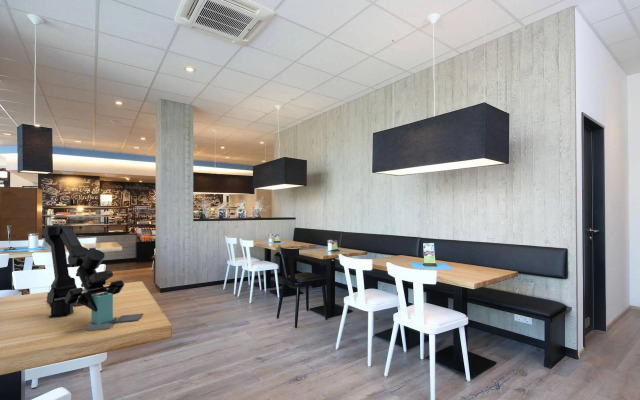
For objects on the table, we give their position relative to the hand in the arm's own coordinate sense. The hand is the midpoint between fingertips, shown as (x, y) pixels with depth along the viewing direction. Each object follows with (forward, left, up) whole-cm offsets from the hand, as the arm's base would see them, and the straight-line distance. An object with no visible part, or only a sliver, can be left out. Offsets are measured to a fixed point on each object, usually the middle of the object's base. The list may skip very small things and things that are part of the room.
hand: (104, 308), depth 121 cm
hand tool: (-39, +48, -7) cm, 63 cm away
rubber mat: (+7, +7, -7) cm, 12 cm away
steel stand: (-1, +1, -7) cm, 7 cm away
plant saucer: (-24, +44, -7) cm, 51 cm away
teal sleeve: (-1, +1, -5) cm, 5 cm away
